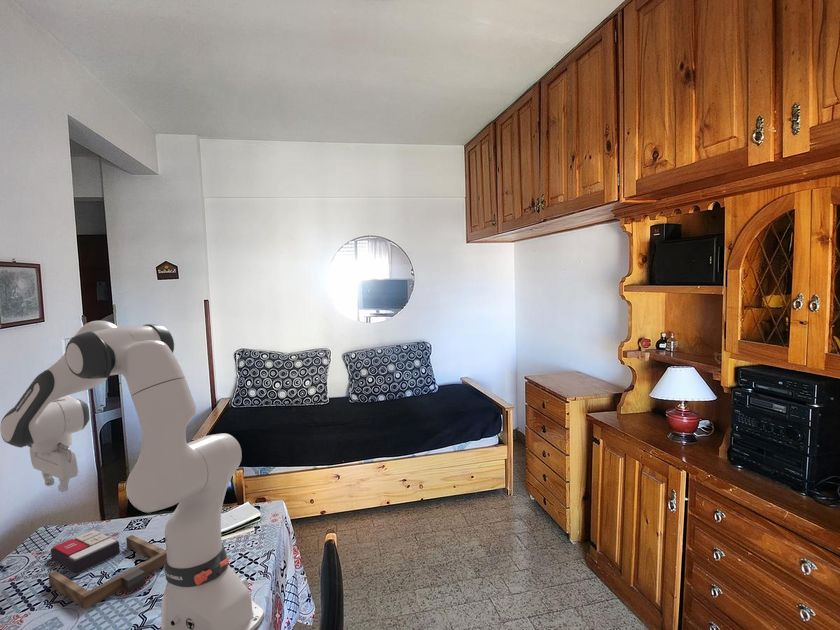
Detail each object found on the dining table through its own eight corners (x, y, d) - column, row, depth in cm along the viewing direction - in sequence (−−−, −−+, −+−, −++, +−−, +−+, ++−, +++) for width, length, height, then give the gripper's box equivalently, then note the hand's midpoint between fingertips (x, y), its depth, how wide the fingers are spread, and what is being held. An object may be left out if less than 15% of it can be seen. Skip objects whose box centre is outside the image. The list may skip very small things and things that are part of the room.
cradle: (176, 565, 121) (175, 554, 121) (92, 613, 104) (90, 601, 103) (132, 544, 132) (131, 534, 131) (49, 585, 114) (48, 573, 114)
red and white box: (94, 527, 136) (119, 538, 128) (95, 541, 136) (120, 553, 128) (49, 546, 126) (73, 559, 118) (51, 561, 126) (75, 575, 119)
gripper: (82, 443, 128) (86, 490, 129) (49, 433, 138) (53, 477, 139) (56, 450, 122) (60, 500, 123) (23, 439, 133) (28, 485, 133)
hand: (56, 488), depth 131 cm, fingers open, 7 cm apart
